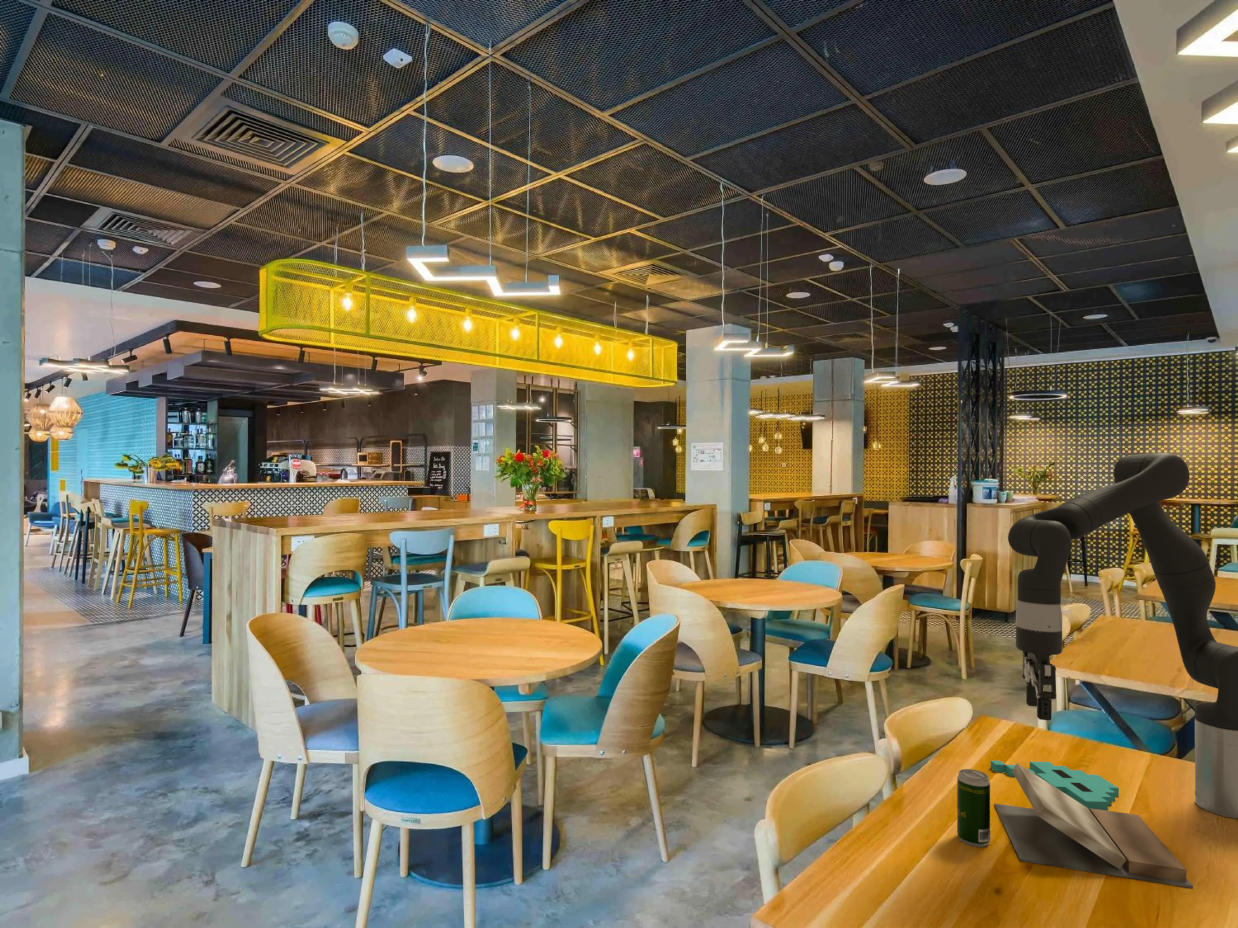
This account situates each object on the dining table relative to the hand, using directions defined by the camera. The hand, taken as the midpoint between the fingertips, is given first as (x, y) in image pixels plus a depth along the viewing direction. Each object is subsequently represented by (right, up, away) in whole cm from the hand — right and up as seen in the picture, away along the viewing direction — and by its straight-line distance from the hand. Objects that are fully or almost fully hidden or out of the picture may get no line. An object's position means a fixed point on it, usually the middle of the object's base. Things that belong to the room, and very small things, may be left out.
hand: (1038, 712), depth 132 cm
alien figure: (+16, -24, +19) cm, 35 cm away
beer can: (-14, -23, -3) cm, 27 cm away
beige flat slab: (+3, -18, -2) cm, 19 cm away
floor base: (+6, -23, -4) cm, 24 cm away
